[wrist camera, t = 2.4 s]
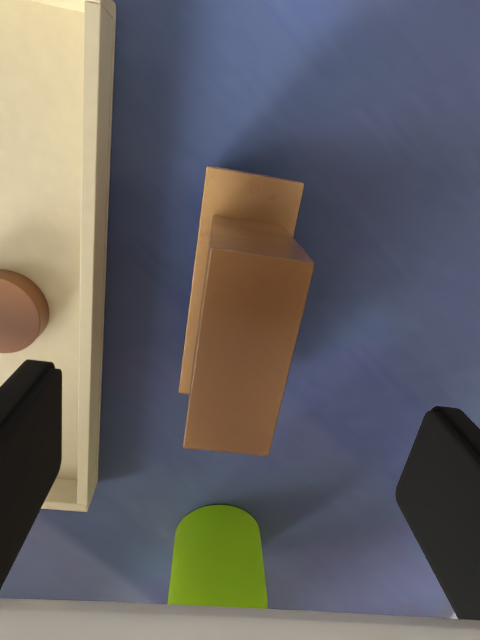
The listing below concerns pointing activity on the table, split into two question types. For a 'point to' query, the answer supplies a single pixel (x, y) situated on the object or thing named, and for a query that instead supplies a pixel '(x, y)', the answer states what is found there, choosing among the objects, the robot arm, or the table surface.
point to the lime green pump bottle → (218, 560)
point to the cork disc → (20, 311)
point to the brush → (243, 310)
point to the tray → (60, 204)
